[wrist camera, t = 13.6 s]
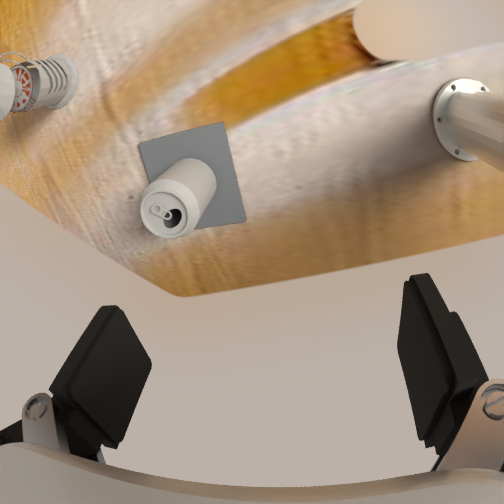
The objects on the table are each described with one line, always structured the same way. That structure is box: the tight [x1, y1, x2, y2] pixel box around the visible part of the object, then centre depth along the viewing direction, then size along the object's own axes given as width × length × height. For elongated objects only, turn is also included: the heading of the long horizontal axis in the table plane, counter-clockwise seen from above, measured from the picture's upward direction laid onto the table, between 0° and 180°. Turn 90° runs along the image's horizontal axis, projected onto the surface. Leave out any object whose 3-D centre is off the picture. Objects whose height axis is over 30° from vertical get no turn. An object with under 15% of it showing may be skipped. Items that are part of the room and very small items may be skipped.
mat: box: [138, 122, 246, 229], centre depth 45 cm, size 13×15×1 cm
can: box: [140, 158, 217, 239], centre depth 40 cm, size 8×8×12 cm
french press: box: [0, 52, 78, 121], centre depth 27 cm, size 10×12×25 cm
